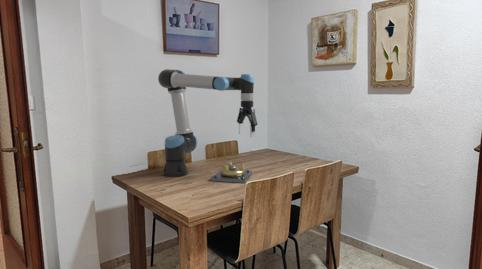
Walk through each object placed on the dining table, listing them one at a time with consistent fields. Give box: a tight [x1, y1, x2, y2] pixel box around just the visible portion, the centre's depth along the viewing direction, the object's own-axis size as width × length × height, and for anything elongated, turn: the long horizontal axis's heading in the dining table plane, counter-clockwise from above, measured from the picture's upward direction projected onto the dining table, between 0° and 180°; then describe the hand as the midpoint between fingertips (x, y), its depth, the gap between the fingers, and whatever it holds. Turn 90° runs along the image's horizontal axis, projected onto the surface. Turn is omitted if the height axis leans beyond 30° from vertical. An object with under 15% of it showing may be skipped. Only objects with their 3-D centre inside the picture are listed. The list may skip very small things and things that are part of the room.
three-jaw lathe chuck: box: [220, 161, 245, 177], centre depth 202 cm, size 14×14×6 cm
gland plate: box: [210, 169, 253, 184], centre depth 203 cm, size 20×20×3 cm
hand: (246, 135), depth 208 cm, fingers open, 13 cm apart
